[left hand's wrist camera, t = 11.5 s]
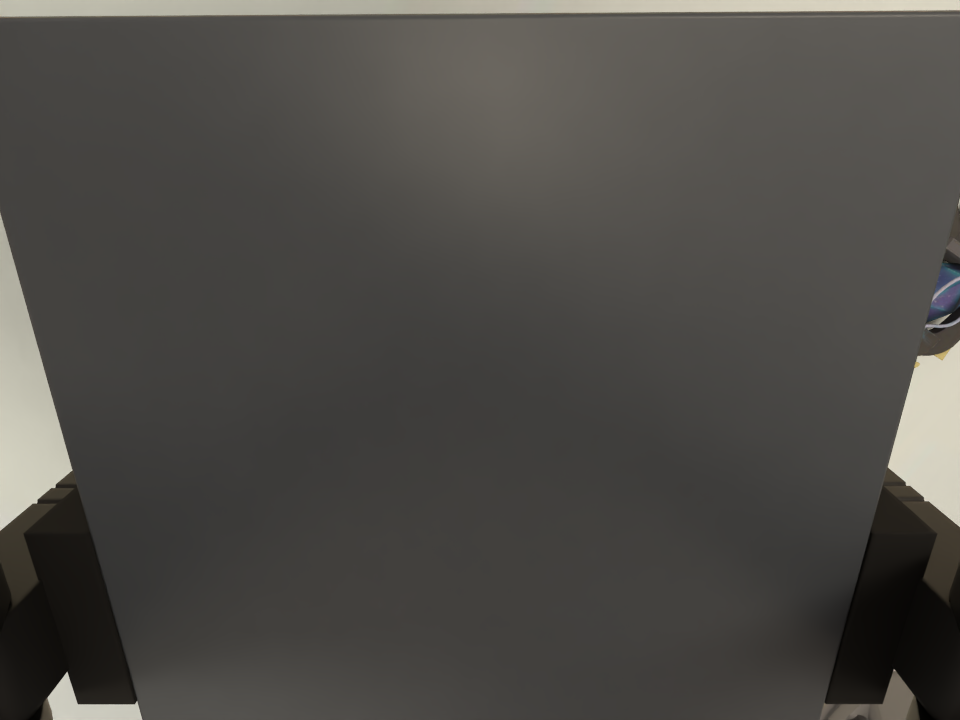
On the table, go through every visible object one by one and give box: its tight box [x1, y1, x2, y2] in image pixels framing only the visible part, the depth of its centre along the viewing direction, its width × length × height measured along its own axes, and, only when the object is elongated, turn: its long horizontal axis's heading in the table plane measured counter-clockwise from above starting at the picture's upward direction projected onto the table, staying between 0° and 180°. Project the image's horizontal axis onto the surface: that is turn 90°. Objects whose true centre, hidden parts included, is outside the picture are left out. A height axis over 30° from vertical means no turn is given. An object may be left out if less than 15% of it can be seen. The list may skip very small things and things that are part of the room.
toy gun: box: [914, 206, 960, 368], centre depth 29 cm, size 3×19×10 cm
